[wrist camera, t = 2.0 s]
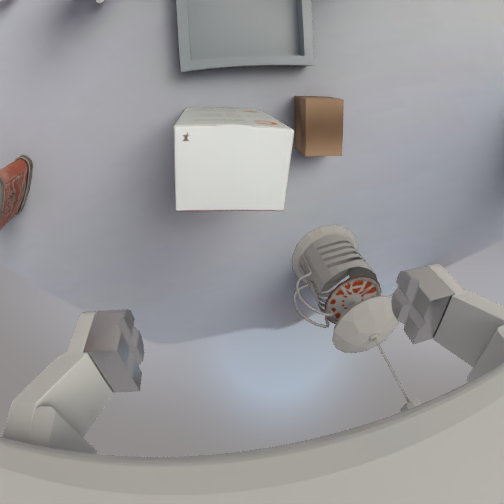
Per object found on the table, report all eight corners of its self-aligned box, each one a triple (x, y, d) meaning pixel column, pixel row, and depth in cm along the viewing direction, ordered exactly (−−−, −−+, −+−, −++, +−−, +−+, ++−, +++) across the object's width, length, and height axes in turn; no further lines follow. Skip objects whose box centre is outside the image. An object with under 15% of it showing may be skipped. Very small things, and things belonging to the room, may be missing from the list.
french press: (348, 284, 45) (428, 426, 24) (274, 286, 43) (328, 457, 22) (366, 226, 40) (480, 366, 19) (284, 222, 38) (371, 401, 17)
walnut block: (294, 95, 30) (305, 98, 27) (328, 96, 30) (343, 99, 27) (294, 147, 33) (305, 156, 30) (327, 147, 34) (341, 155, 30)
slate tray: (300, -36, 21) (307, -43, 19) (306, 66, 28) (314, 65, 26) (176, -34, 20) (174, -42, 18) (182, 72, 27) (180, 71, 25)
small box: (183, 164, 32) (173, 213, 21) (184, 107, 29) (171, 123, 18) (257, 164, 33) (285, 212, 23) (261, 109, 30) (295, 127, 19)
